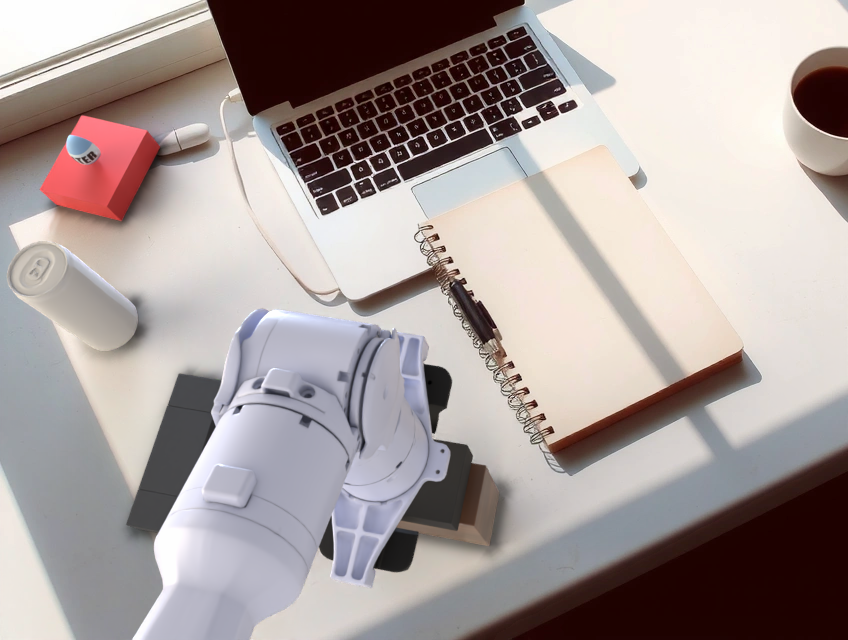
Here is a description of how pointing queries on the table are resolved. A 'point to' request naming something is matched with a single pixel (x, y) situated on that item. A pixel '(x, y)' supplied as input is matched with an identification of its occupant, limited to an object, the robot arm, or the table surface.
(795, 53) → the table surface
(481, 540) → the brown wooden brick
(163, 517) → the base pad
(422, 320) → the table surface
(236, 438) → the robot arm
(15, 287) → the beverage can
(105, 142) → the red slab
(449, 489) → the black pad
